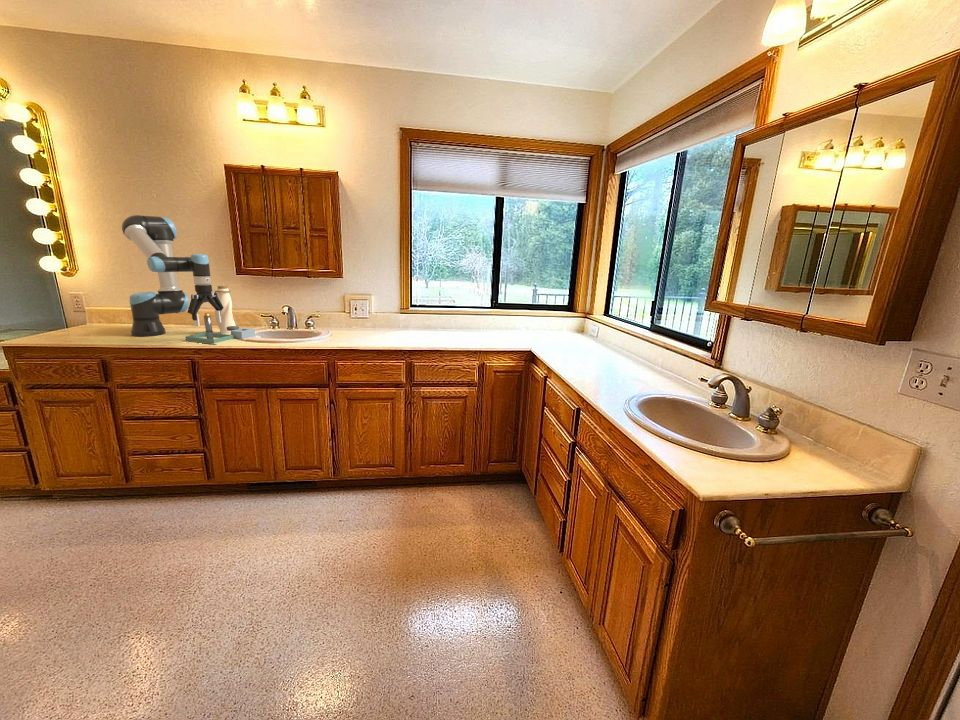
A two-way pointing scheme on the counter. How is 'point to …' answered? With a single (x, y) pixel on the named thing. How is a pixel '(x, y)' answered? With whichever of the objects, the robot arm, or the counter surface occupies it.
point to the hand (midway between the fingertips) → (208, 324)
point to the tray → (207, 341)
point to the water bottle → (225, 309)
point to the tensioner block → (241, 332)
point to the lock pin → (208, 326)
